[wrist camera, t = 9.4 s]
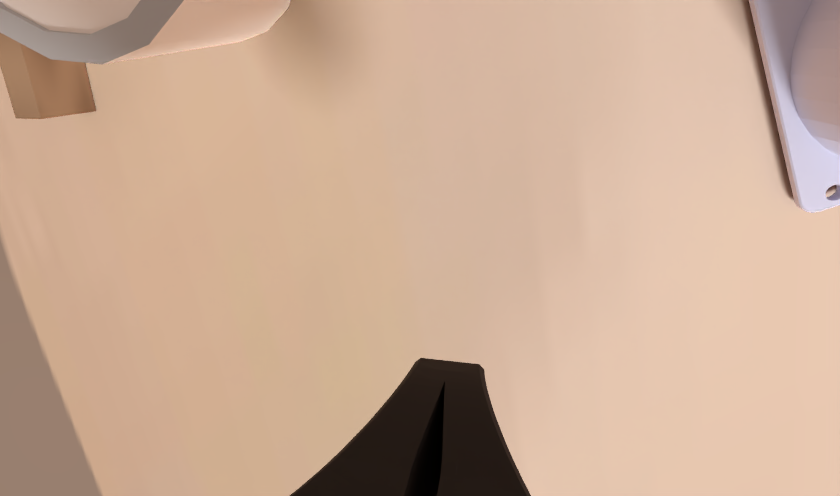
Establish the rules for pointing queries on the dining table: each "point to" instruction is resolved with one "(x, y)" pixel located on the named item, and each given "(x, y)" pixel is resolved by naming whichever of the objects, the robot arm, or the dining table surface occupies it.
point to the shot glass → (133, 26)
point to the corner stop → (43, 83)
